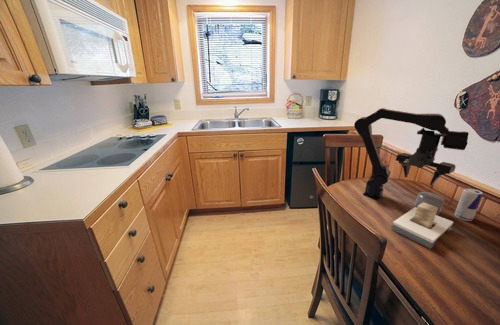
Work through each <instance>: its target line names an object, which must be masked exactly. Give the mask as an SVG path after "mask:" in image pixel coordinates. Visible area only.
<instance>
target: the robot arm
mask: <svg viewBox="0 0 500 325" xmlns="http://www.w3.org/2000/svg"><path fill="white" fill-rule="evenodd" d="M381 119H383V120H391V121H396V122H401V123H407V124H413V125H416V126H419V127H422V128H421V129H419V130H417V132H416V134H417V135H421V138H420V142H419V145H418V147H417V148H416V150H415V152H414V153H413V154H412V153H407V152H401V153H399V154H397V155H396V156H395V161H397V162H398V164H400V165H401V166H402V169H403V174H404V178H408V177H409V174H410V170H411V167H412V166H413V167H417V168H420V169H421V168H424V167H425V166H427V167H432V168H435V169H436V170H434V173H433V176H432V179H431V180H430V184H429V185H430V186H432V185H434V184H435V183H436V182H437V180H439V178H440V177H442V176H443V175H449V174H452V173H454V172H455V171H456V165H455V164H454V163H450V162H446V161H442V162H440V163H439V162H435V160H436V158H435V157H436V154H437V152H438V147H439V144H440V146H442V147H443V148H444V149H448V150H449V149H450V150H457V151H458V150H459V151H465V150H466V148H467V146H468V138H469V135H470V133H469V132H468V131H458V130H457V131H454V130H450V129H449V128H448V127H447V126H446V123H447V120H446V118H445V117H444V115H442V114H441V113H413V112H408V111H400V110H394V109H389V108H388V109H386V108H385V107H384V108H383V107H382V108H378V109H377V110H376V111H375V112H373V113H371V114H369V115H367V116H362V117H360V118H358V119H357V120H355V122H354V129H355V131H356V132H357V134H358V135H359V136H360V138H362V141H363V143H364V144H363V145H364V146H365V147H364V148H365V150H366V153H367V156H368V159H369V161H370V164H371V166H372V172H371V173H372V175H370V176H369V177H368V180H367V181H366V185H365V191H364V192H363V193H362V195H363V196H366V197H368V198H371V199H373V200H374V201H375V200H378V199H380V198H382V197H383V195H384V193H383V192H384V188H383V187H384V185H386V184H387V183H388V182H389V178H390V175H391V170H389V165H388V164H386V165H384V163H383V162H382V159H381V156H380V154H379V151H378V148H377V146H376V142H375V139H374V137H373V129H372V128H373V127H372V124H374V123H376V122H377V121H379V120H381ZM436 131H437V132H438V133H437V132H436Z"/></svg>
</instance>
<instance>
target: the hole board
mask: <svg viewBox="0 0 500 325" xmlns="http://www.w3.org/2000/svg"><path fill="white" fill-rule="evenodd" d="M416 210H417V208H416V207H415V208H414V207H413V208H411V209H410V210H409V211H408V212H406V213H404V214H403V215H401V216H400V217H398V218H396V219H395V220H394V221H393V222H392V226H391V228H390V231H393V232H395V233H397V234H399V235H401V236H403V237H404V238H407V239H409V240H411V241H413V242H415V243H417V244H418V245H419V244H420V245H422V246H423V247H425V248H427V249H429V250H431V249H432V248H434V246H435V244H436V241H437V240H438V239H439V238H440V237H441V236H442V235H443V234H444V233H449V232H450V231H451V229H452V227H453V224H454V221H452V220H451V219H447V218H445V217H442V216H440V215H439V216H437V215H435V218H434V221H433V224H432V227H431V230H430V229H428V228H425V227H423V226H421V225H418V224H416V223H414V222H413V220H414V216H415V213H416Z"/></svg>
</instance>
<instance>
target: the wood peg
mask: <svg viewBox="0 0 500 325" xmlns="http://www.w3.org/2000/svg"><path fill="white" fill-rule="evenodd" d="M437 209H438V207H435V206H433V205H430V204H427V203H424V202H422V203H421V204H419V205H418V206H417V210H416V213H415V216H414V219H413V220H412V222H414V223H416V224H418V225H421V226H423V227H425V228H428V229H430V230H431V229H432V228H433V226H432V224H433V221H434V218H435V215H436V212H437Z"/></svg>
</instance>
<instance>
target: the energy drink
mask: <svg viewBox="0 0 500 325" xmlns="http://www.w3.org/2000/svg"><path fill="white" fill-rule="evenodd" d="M483 194H484V193H483V192H482V191H481V190H479V189H476V188H470V187H467V188H466V187H465V188H464V189H463V190H462V193H461V196H460V198H459V201H458V203H457V206H456V209H455V211H454V216H455V217H456V218H458V219H460V220H462V221H464V222H465V221H466V222H472V221H473V220H474V218H475V215H476V214H477V211H478V208H479V206H480V203H481V201H482V199H483V197H484V195H483Z"/></svg>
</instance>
